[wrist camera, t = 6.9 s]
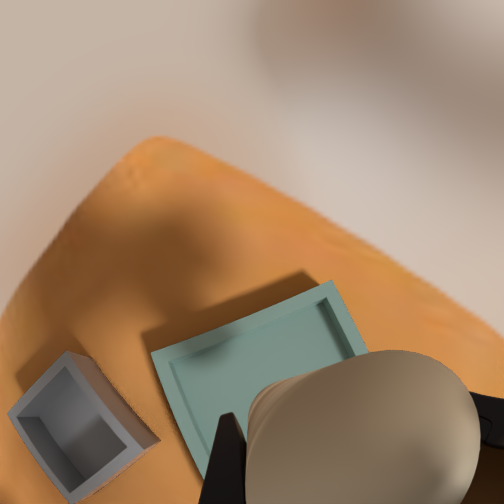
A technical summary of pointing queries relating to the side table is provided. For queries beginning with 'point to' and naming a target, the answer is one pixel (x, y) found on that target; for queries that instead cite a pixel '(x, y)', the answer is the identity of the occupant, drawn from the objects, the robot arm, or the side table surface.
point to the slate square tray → (79, 427)
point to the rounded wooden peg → (364, 434)
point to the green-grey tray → (252, 361)
